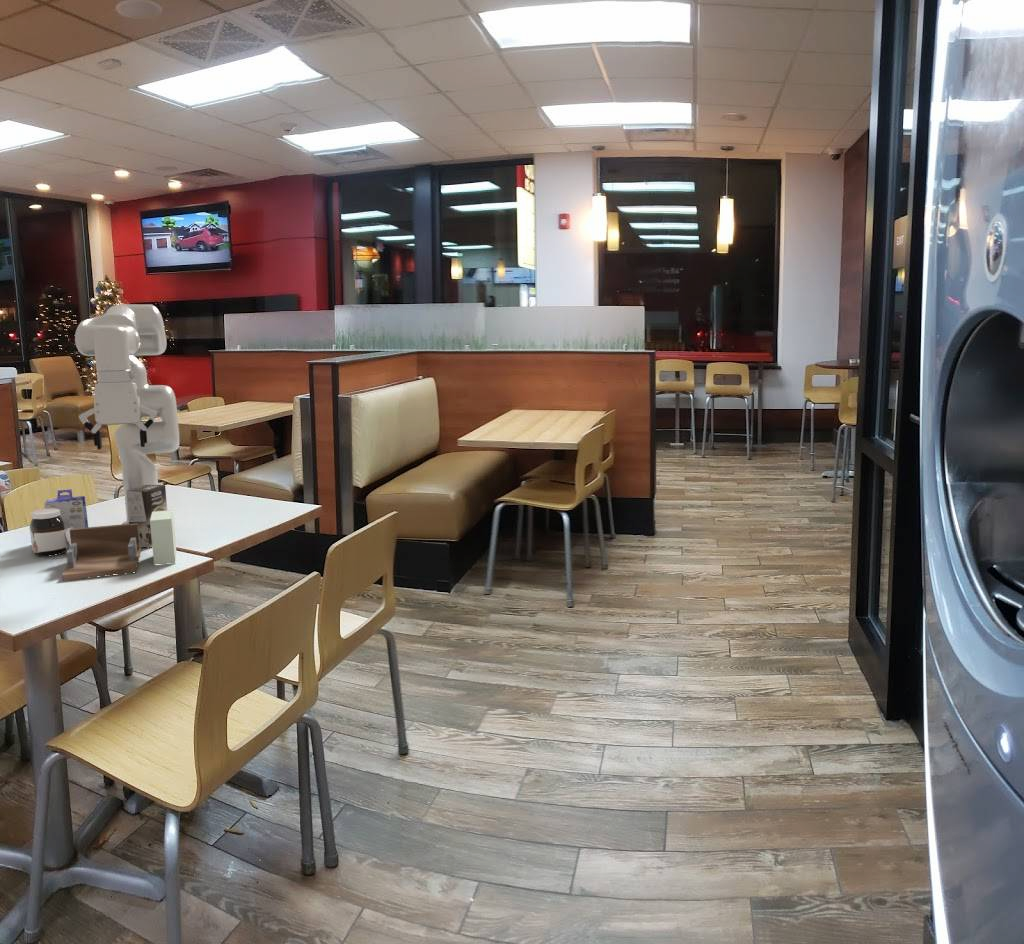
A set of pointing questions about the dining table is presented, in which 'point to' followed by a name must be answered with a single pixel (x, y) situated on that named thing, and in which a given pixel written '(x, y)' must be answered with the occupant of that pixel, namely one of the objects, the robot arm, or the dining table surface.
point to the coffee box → (145, 508)
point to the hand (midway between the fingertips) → (121, 447)
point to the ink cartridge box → (70, 509)
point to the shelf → (102, 551)
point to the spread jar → (48, 532)
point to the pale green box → (163, 537)
